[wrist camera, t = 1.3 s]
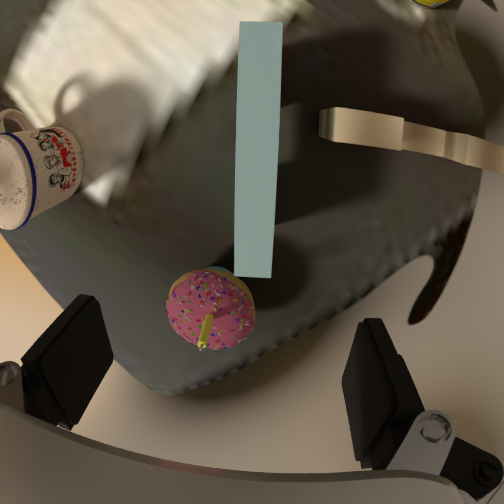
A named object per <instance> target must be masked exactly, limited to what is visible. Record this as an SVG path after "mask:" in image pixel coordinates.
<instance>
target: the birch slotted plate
mask: <svg viewBox="0 0 504 504" xmlns="http://www.w3.org/2000/svg"><path fill="white" fill-rule="evenodd" d="M318 136H319V137H322V138H325V139H328V140H331V141H334V142H343V143H351V144H359V145H366V146H374V147H380V148H387V149H393V150H399V151H401V149H405V150H410V151H416V152H421V153H426V154H431V155H435V156H440V157H444V158H447V159H451V160H454V161H457V162H460V163H463V164H466V165H470V166H474V167H478V168H482V169H485V170H489V171H493V172H496V173H499V174H503V175H504V146H501V145H498V144H495V143H492V142H489V141H486V140H483V139H480V138H477V137H474V136H471V135H467V134H462V133H456V132H449V131H444V130H440V129H436V128H432V127H428V126H424V125H419V124H415V123H410V122H406V121H404V118H401V117H396V116H390V115H385V114H380V113H374V112H368V111H361V110H355V109H348V108H340V107H334V108H329V109H324V110H320V117H319V135H318Z"/></svg>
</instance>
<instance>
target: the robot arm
mask: <svg viewBox="0 0 504 504" xmlns="http://www.w3.org/2000/svg"><path fill="white" fill-rule="evenodd" d="M21 361H22V363H23V365H22V366H21V367H20V366H19V365H18V364H17V363H15V362H13V361H6V362H3V363H0V504H504V477H503V474H504V471H503V466H502V464H501V462H500V461H499V459H498V458H496V457H495V456H494V455H492V454H490V453H488V452H486V451H483V450H481V449H479V448H477V447H475V446H473V445H471V444H469V443H467V442H466V441H464V440H462V439H460V438H457V437H456V436H455V435H456V427H455V424H454V422H453V420H452V419H451V418H450V417H449V416H448V415H447V414H445V413H443V412H441V411H437V410H427V411H425V409H424V406H423V404H422V401H421V399H420V397H419V394H418V392H417V389H416V387H415V385H414V382H413V380H412V377H411V375H410V373H409V371H408V368H407V366H406V364H405V361H404V359H403V358H402V356H401V355H399V354H397V351H396V349H395V347H394V345H393V342H392V340H391V338H390V336H389V334H388V332H387V329H386V327H385V325H384V323H383V321H382V319H380V318H365V319H364V320H363V322H359V324H358V326H357V330H356V333H355V337H354V340H353V344H352V347H351V351H350V354H349V357H348V360H347V364H346V367H345V370H344V373H343V376H342V389H343V393H344V398H345V403H346V409H347V415H348V419H349V425H350V431H351V437H352V442H353V449H354V454H355V459H356V461H360V463H361V468H362V469H363V468H364V469H365V468H372V470H370V471H353V472H339V473H338V472H337V473H264V472H249V471H237V470H227V469H219V468H211V467H204V466H198V465H191V464H186V463H179V462H175V461H170V460H165V459H160V458H155V457H151V456H147V455H143V454H139V453H135V452H132V451H128V450H124V449H121V448H117V447H114V446H110V445H107V444H104V443H101V442H98V441H95V440H92V439H89V438H86V437H83V436H81V435H78V434H75V433H72V432H70V431H71V430H72V428H73V426H74V425H76V424H78V422H79V421H80V419H81V417H82V415H83V413H84V412H85V410H86V408H87V406H88V404H89V402H90V400H91V399H92V397H93V395H94V393H95V392H96V390H97V388H98V387H99V385H100V383H101V381H102V379H103V378H104V376H105V374H106V373H107V371H108V369H109V367H110V366H111V364H112V362H113V352H112V348H111V345H110V342H109V338H108V334H107V331H106V327H105V323H104V320H103V316H102V312H101V307H100V304H99V302H98V301H97V300H96V298H95V297H94V296H90V295H84V294H80V295H78V296H77V297H76V298H75V300H74V301H73V302H72V303H71V304H70V305H69V306H68V307H67V308H66V309H65V310H64V311H63V312H62V313H61V314H60V315H59V316H58V317H57V318H56V320H55V321H54V322H53V323H52V324H51V325H50V326H49V327H48V328H47V329H46V330H45V332H44V333H43V334H42V335H41V336H40V337H39V338H38V339H37V341H36V342H35V343H34V344H33V345H32V346H31V348H30V349H29V350H28V351H27V352H26V353H25V354H24V356H23V357H22V358H21ZM57 425H59V426H60V427H62V428H64V429H62V428H60V427H57ZM65 429H67V430H69V431H67V430H65Z"/></svg>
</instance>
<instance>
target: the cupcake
mask: <svg viewBox="0 0 504 504" xmlns="http://www.w3.org/2000/svg"><path fill="white" fill-rule="evenodd" d="M166 312H167V314H168V317H169V320H170V323H171V325H172V328H173V329H174V330H176V333H177V332H178V333H177V334H180V335H181V336H182V337H183V338H185V339H186V341H188V342H191V344H192V343H193V344H195V346H199V347H200V350H202V348H210V349H215V350H217V349H218V348H219V349H222V348H226V347H231V346H234V345H236V344H237V343H241V342H240V341H241V340H242V339H245V338H246V336H247V334H248V333H249V332H250V331H251V330H252V328H253V326H254V321H255V306H254V301H253V297H252V294H251V292H250V290H249V288H248V287H247V286H246V284H245V283H244V282H243V281H241V280H240V279H238V278H237V277H236V276H234V274H233V273H232V272H230V271H229V270H227V269H225V268H223V267H218V266H212V267H207V268H205V269H201V270H194V271H190V272H187V273H185V274H184V275H183V276H181V277H180V278H179V279H178V280H176V281H175V282H174V284H173V285H172V287H171V290H170V293H169V298H168V299H167V300H166Z"/></svg>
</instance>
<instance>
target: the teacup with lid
mask: <svg viewBox="0 0 504 504" xmlns="http://www.w3.org/2000/svg"><path fill="white" fill-rule="evenodd" d="M4 119H12V120H14V121H15V122H17V123H18V124H19V125H20V127H21V129H22V131H21V132H16V133H8V132H5V129H4V124H3V120H4ZM82 174H83V155H82V151H81V148H80V145H79V143H78V141H77V139H76V138H75V137H74V135H73V134H72V133H71V132H70V131H68V130H67V129H65V128H63V127H59V126H51V127H45V128H38V129H32V126H31V124H30V122H29V120H28V118H27V117H26V116H25V115H24V114H23V113H21V112H20V111H18V110H15V109H6V110H4V111H2V112H1V113H0V228H2V229H6V230H14V229H18V228H20V227H22V226H23V225H25V224H26V223H27V221H28V220H29V219H31V218H33V217H34V216H36V215H38V214H40V213H42V212H44V211H45V210H47V209H49V208H51V207H53V206H55V205H57V204H59V203H61V202H63V201H65V200H66V199H68V198H69V197H71V196H72V195H73V194H74V193H75V191H76V190H77V188H78V186H79V184H80V182H81V179H82Z"/></svg>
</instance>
